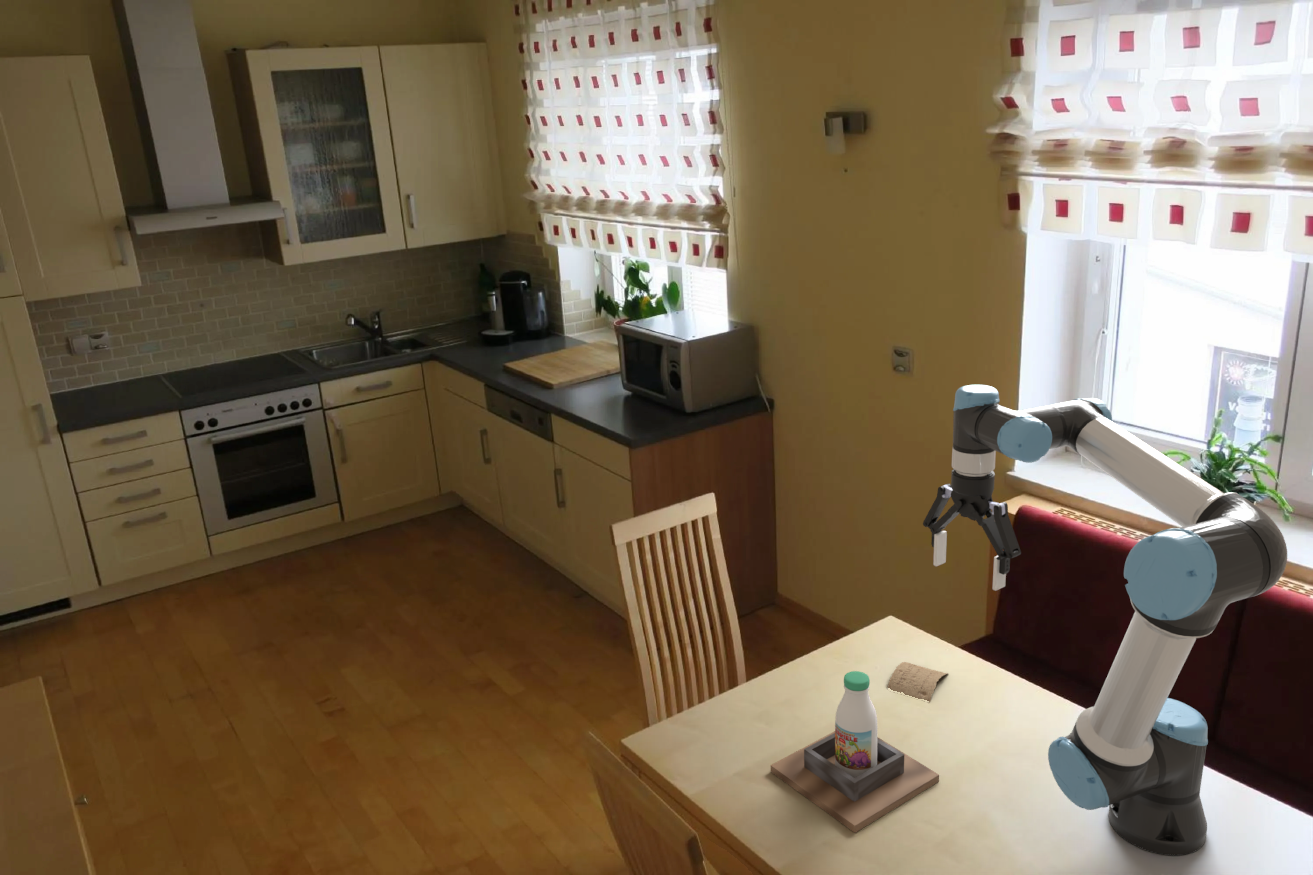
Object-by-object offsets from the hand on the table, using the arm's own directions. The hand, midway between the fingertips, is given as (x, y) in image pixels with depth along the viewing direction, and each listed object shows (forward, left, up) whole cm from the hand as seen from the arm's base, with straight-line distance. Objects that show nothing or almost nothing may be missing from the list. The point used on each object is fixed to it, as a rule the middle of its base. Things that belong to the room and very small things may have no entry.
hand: (968, 575), depth 192 cm
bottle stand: (+4, +26, -35) cm, 44 cm away
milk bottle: (+4, +26, -33) cm, 42 cm away
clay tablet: (+18, -8, -36) cm, 41 cm away
